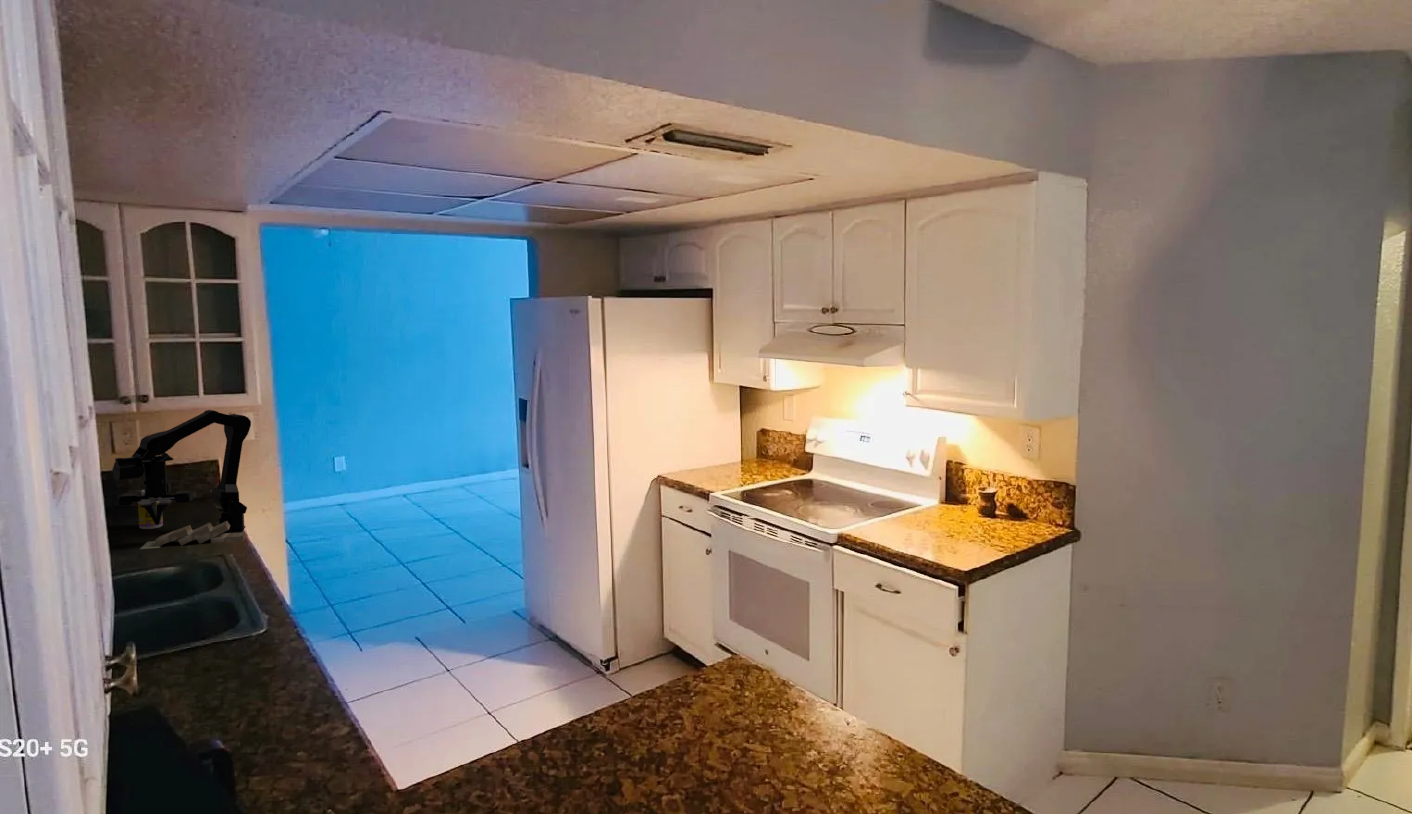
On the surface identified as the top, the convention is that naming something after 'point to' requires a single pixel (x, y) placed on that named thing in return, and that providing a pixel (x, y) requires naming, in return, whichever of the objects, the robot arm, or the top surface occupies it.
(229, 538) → the domino
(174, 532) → the tile
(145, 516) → the supplement bottle
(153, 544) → the gap pad
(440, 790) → the top surface
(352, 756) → the top surface
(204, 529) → the domino
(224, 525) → the domino
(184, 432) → the robot arm
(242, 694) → the top surface
